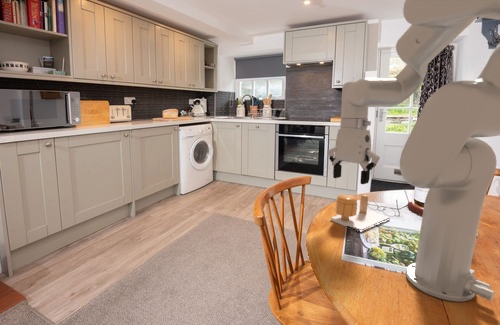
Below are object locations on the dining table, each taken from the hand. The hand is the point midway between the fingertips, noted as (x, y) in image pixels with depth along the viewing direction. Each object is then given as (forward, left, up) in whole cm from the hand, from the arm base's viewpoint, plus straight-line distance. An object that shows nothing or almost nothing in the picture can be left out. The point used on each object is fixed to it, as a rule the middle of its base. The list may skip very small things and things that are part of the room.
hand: (350, 180), depth 90 cm
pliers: (-12, -28, -15) cm, 34 cm away
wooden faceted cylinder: (+1, 0, -11) cm, 11 cm away
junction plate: (-1, -6, -14) cm, 15 cm away
